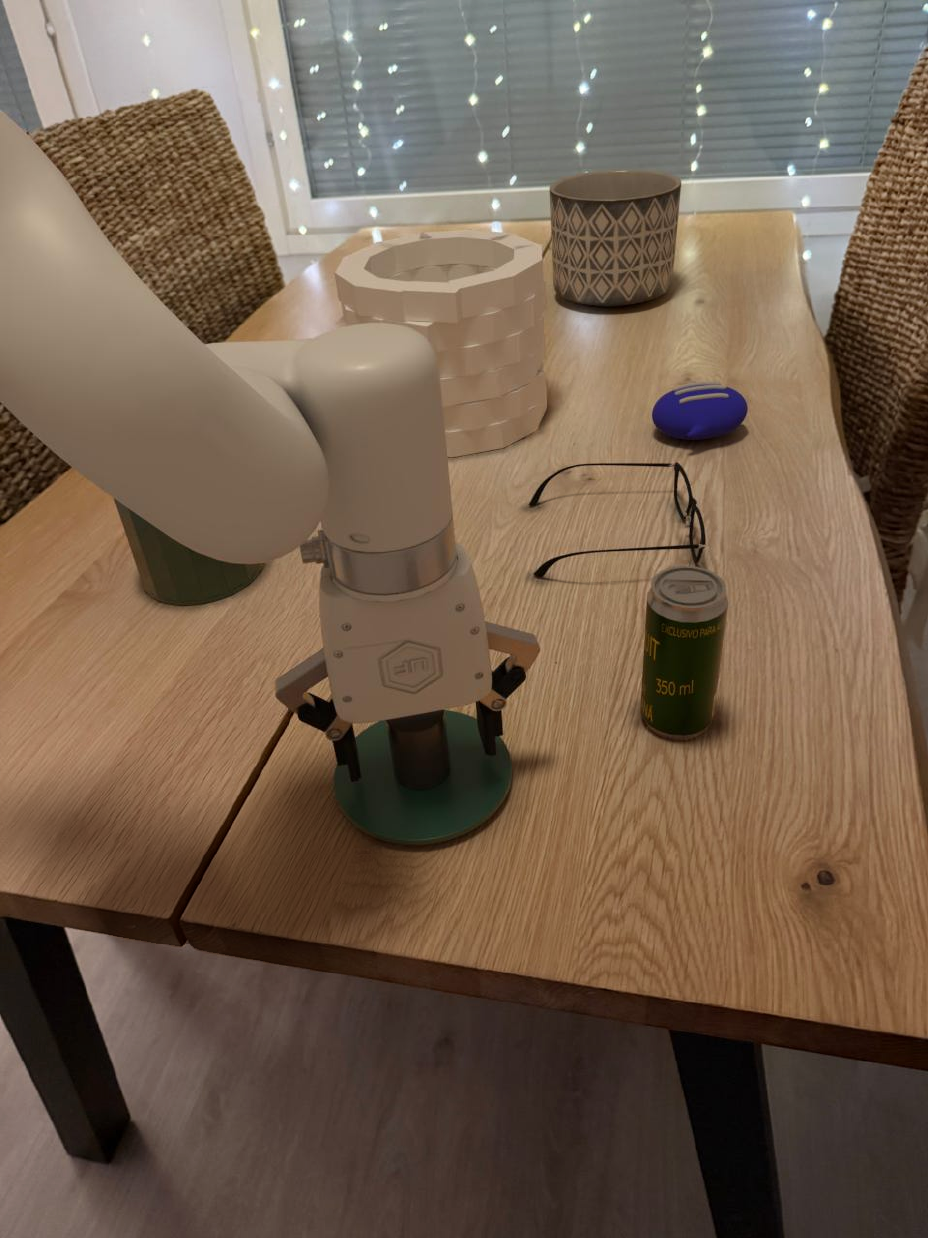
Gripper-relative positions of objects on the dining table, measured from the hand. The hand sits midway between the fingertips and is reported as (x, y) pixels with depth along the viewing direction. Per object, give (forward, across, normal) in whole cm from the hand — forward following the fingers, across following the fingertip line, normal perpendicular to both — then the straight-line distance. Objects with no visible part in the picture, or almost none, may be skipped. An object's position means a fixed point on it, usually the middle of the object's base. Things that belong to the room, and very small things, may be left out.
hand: (421, 754), depth 64 cm
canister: (+3, -17, +33) cm, 37 cm away
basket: (+3, +12, +60) cm, 61 cm away
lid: (+2, 0, 0) cm, 2 cm away
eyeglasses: (+3, +23, +27) cm, 36 cm away
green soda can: (+3, +19, +2) cm, 20 cm away
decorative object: (+3, +38, +45) cm, 59 cm away
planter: (+3, +45, +95) cm, 105 cm away
